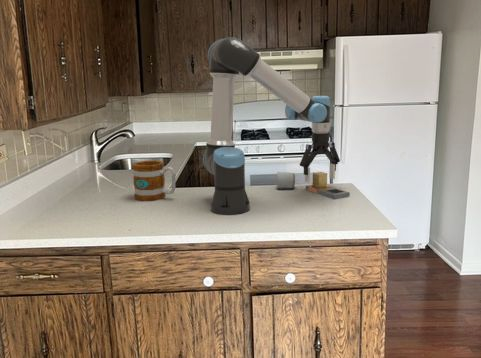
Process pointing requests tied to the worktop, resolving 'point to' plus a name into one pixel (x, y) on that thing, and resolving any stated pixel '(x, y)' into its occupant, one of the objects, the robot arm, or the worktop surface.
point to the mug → (151, 180)
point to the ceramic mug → (285, 180)
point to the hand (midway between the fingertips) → (319, 180)
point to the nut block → (319, 180)
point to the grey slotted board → (329, 192)
